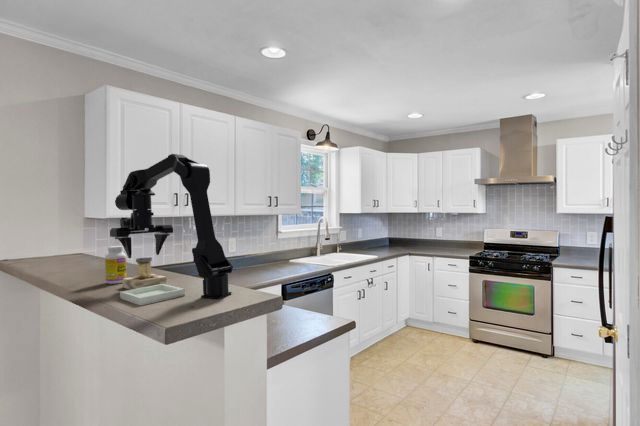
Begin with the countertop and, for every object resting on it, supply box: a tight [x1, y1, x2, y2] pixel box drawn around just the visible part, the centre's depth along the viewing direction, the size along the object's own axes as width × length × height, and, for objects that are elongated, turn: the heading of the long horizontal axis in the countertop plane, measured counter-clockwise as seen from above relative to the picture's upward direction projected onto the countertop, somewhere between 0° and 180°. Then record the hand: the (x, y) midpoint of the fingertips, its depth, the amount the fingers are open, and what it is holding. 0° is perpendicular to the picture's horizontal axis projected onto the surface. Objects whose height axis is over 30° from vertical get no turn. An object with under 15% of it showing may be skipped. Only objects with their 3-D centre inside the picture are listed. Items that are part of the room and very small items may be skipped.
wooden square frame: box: [122, 273, 168, 290], centre depth 126 cm, size 10×10×3 cm
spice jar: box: [135, 256, 153, 280], centre depth 126 cm, size 5×5×10 cm
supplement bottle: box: [104, 245, 128, 285], centre depth 134 cm, size 7×7×13 cm
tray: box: [119, 284, 186, 306], centre depth 111 cm, size 13×13×2 cm
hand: (144, 256), depth 125 cm, fingers open, 9 cm apart
